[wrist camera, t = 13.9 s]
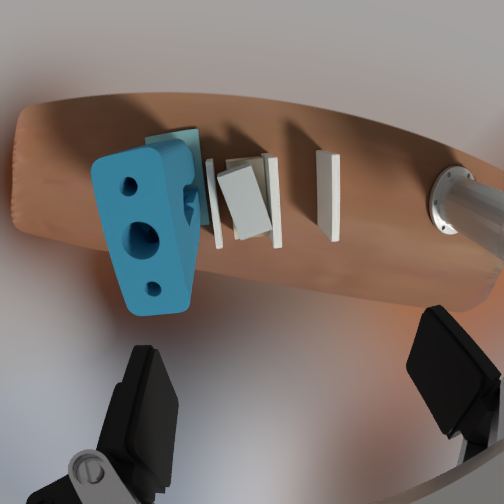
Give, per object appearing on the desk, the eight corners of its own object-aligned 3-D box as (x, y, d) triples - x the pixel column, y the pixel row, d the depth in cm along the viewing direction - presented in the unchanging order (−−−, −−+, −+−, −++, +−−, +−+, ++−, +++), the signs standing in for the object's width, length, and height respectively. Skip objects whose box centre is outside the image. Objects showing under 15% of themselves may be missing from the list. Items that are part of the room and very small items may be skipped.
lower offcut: (259, 155, 37) (263, 158, 34) (265, 226, 42) (269, 235, 38) (225, 159, 37) (226, 162, 34) (233, 230, 41) (235, 239, 38)
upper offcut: (248, 162, 34) (251, 165, 31) (269, 221, 38) (272, 229, 35) (217, 173, 34) (217, 177, 32) (239, 231, 38) (241, 240, 35)
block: (153, 142, 34) (88, 161, 16) (191, 135, 34) (160, 144, 16) (167, 229, 39) (130, 316, 21) (203, 224, 39) (192, 311, 21)
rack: (322, 149, 37) (339, 154, 32) (323, 225, 42) (338, 240, 37) (207, 159, 36) (204, 164, 31) (216, 237, 41) (216, 255, 36)
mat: (198, 128, 35) (197, 128, 34) (209, 223, 40) (209, 224, 40) (145, 137, 34) (144, 137, 34) (160, 229, 40) (159, 230, 39)
